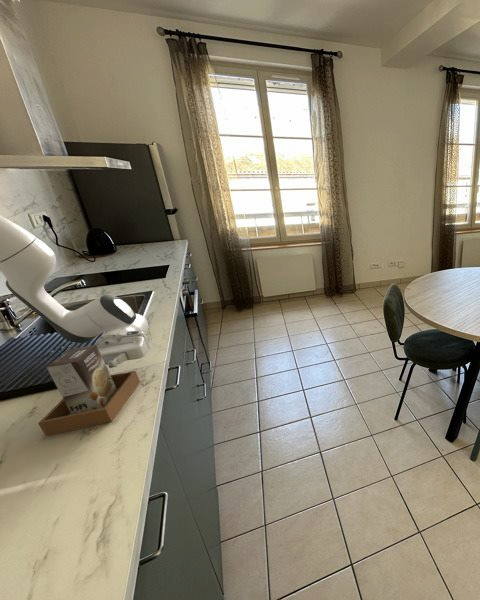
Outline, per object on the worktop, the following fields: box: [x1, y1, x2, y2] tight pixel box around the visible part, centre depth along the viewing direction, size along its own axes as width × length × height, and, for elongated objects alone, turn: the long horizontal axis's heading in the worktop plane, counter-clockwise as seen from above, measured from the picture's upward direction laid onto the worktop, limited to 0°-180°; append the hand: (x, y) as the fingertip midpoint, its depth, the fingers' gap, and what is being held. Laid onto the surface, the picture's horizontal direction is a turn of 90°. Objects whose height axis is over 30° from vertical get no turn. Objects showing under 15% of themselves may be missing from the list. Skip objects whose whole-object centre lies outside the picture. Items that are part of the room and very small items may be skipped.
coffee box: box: [45, 344, 118, 415], centre depth 85 cm, size 9×6×16 cm
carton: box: [37, 370, 141, 437], centre depth 88 cm, size 14×18×4 cm
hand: (90, 369), depth 88 cm, fingers open, 8 cm apart
